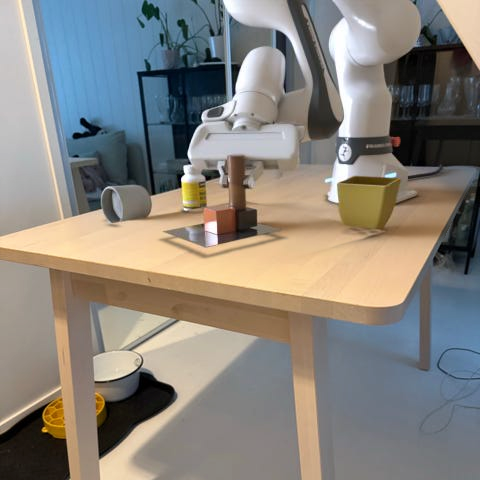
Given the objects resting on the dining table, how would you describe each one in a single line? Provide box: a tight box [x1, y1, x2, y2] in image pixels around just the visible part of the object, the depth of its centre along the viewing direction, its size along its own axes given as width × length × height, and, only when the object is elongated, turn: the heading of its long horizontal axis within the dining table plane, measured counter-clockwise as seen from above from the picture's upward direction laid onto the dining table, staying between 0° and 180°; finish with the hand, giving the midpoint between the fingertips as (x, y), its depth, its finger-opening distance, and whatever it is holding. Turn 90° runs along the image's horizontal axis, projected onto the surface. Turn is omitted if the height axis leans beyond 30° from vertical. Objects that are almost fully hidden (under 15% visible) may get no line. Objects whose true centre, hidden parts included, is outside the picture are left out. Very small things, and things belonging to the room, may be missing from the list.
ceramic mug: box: [100, 184, 153, 224], centre depth 96 cm, size 11×8×8 cm
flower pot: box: [337, 176, 401, 231], centre depth 81 cm, size 9×9×9 cm
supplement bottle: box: [180, 164, 208, 211], centre depth 104 cm, size 5×5×10 cm
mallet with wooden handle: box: [227, 154, 258, 230], centre depth 81 cm, size 4×6×12 cm, turn 37°
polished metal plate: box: [162, 222, 282, 249], centre depth 82 cm, size 16×14×2 cm
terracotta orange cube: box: [202, 204, 236, 235], centre depth 80 cm, size 4×4×4 cm
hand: (235, 186), depth 80 cm, fingers closed on mallet with wooden handle, 3 cm apart
